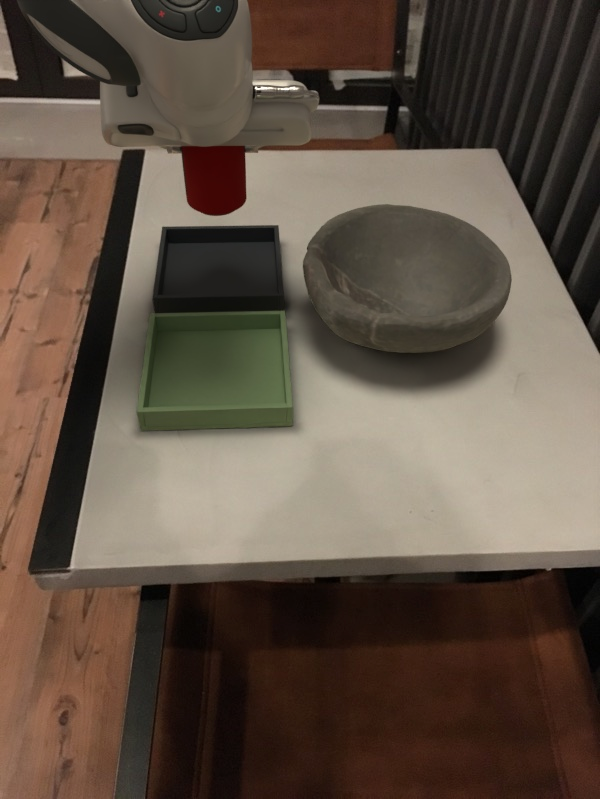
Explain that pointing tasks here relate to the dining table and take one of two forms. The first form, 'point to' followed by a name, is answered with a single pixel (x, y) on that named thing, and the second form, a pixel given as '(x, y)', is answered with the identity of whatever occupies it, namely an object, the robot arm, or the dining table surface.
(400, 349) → the bowl
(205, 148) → the beverage can
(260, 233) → the slate tray
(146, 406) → the sage tray
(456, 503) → the dining table surface
